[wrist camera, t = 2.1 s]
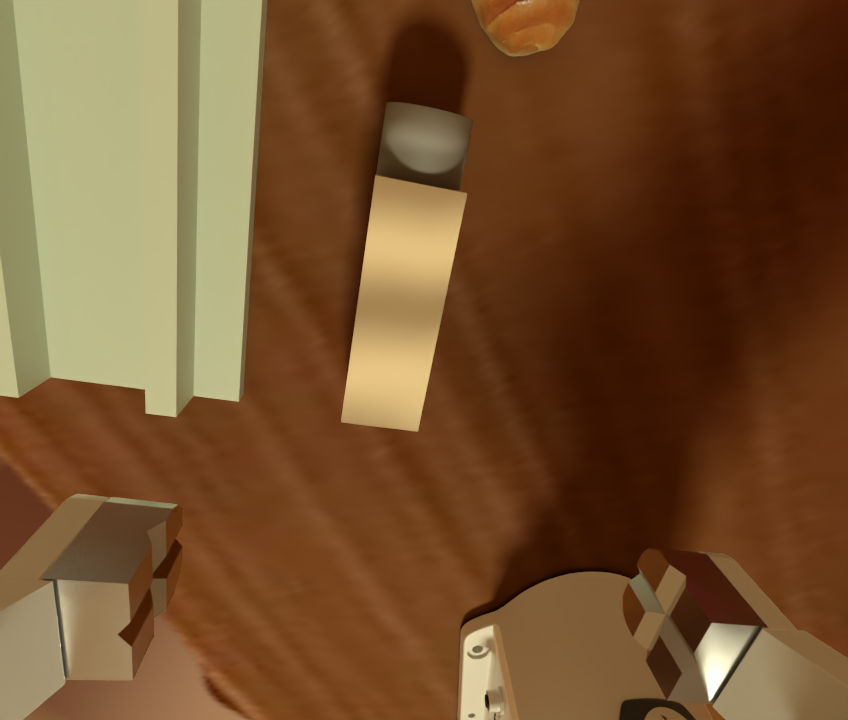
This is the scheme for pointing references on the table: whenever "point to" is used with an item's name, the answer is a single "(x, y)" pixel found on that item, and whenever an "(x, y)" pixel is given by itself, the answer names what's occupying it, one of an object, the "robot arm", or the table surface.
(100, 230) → the grooved moulding strip
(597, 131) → the table surface
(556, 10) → the pastry
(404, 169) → the grey-capped wooden block
